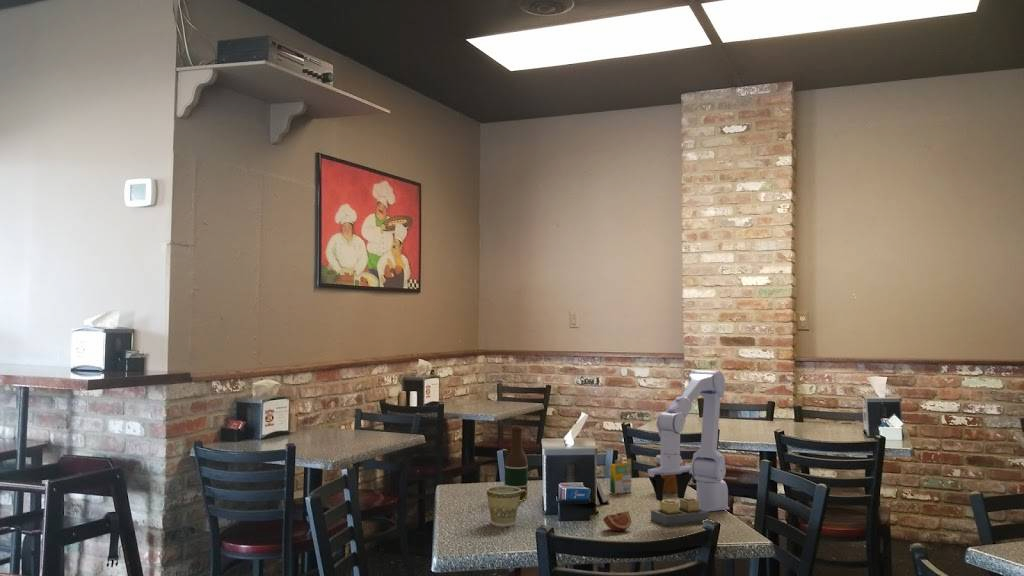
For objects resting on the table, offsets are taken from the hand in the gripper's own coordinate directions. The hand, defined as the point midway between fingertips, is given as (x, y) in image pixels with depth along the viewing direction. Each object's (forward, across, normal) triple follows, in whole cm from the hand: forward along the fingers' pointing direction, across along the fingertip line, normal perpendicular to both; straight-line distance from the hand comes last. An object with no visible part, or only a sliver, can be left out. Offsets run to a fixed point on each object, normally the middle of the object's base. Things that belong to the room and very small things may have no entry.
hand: (670, 499), depth 236 cm
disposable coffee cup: (+7, -24, -36) cm, 44 cm away
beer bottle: (+7, +31, -44) cm, 54 cm away
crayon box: (+7, -7, -40) cm, 41 cm away
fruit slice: (+7, +20, +2) cm, 21 cm away
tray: (+7, -3, 0) cm, 8 cm away
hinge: (+7, +8, -35) cm, 36 cm away
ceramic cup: (+7, +46, -16) cm, 49 cm away
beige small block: (+7, 0, 0) cm, 7 cm away
